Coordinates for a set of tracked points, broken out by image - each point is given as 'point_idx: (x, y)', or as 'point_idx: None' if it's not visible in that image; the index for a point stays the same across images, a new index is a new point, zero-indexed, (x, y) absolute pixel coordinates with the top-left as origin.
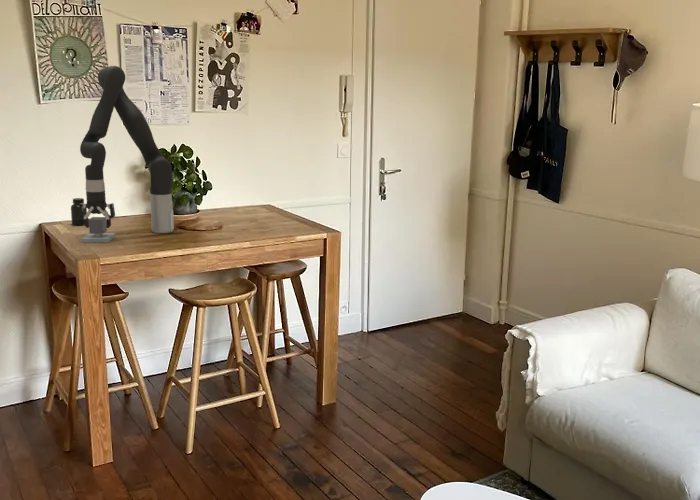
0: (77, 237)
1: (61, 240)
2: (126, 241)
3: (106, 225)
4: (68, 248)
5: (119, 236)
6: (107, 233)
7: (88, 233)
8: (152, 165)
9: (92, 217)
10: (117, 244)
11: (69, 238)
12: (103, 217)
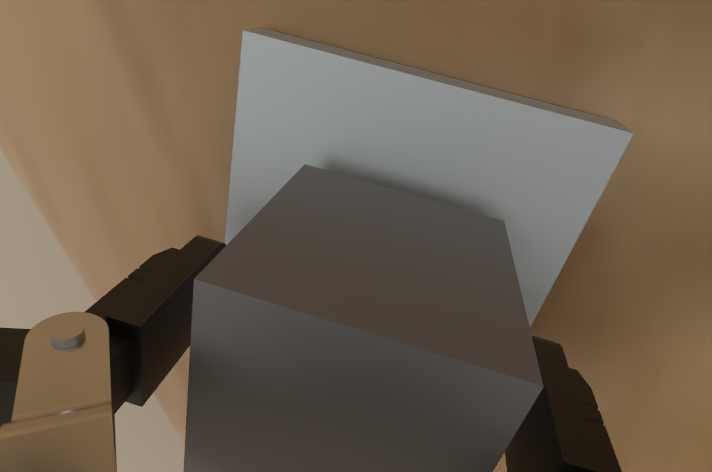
0: (136, 71)
1: (29, 180)
2: (683, 388)
3: (511, 271)
4: (181, 437)
5: (677, 128)
6: (510, 136)
7: (241, 78)
8: None
9: (204, 333)
10: None
11: (68, 106)
12: (470, 406)
